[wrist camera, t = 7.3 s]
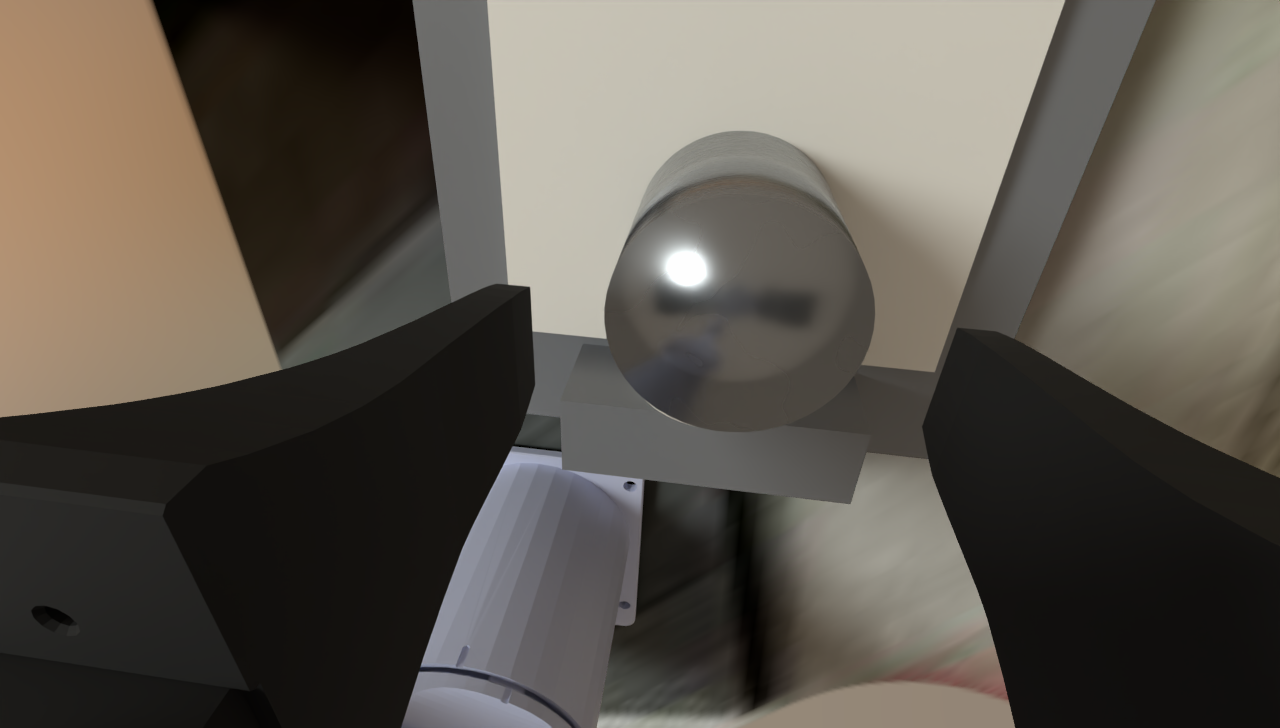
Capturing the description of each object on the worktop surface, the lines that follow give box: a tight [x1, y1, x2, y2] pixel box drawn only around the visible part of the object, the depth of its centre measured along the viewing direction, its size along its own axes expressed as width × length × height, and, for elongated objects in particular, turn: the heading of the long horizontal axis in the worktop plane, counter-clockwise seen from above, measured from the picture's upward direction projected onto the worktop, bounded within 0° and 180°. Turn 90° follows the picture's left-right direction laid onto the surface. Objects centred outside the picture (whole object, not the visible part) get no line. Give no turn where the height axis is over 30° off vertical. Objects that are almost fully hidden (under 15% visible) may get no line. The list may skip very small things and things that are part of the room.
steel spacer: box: [604, 131, 875, 432], centre depth 14 cm, size 5×5×5 cm
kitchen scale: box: [413, 0, 1156, 504], centre depth 15 cm, size 18×16×6 cm
